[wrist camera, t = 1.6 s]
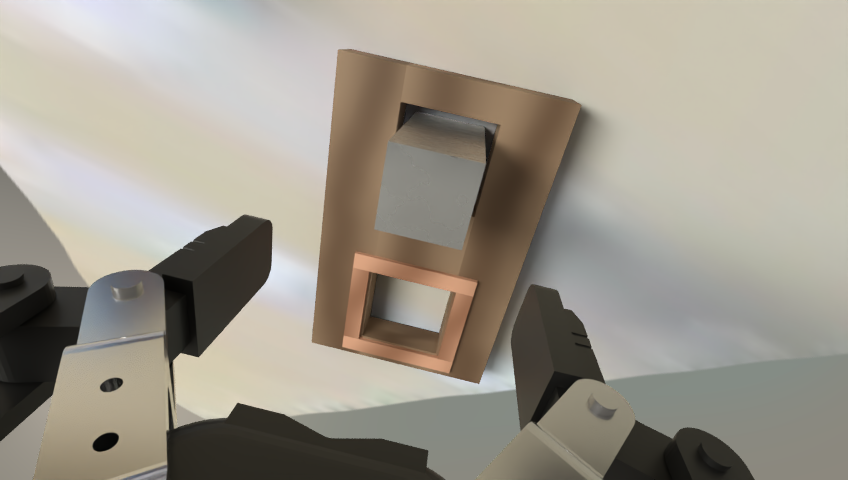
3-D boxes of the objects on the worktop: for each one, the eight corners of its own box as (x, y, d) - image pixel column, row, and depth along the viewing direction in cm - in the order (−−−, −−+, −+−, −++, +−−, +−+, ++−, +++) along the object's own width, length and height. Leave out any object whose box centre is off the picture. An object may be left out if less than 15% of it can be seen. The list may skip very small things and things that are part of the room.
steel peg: (484, 126, 26) (485, 163, 18) (467, 191, 28) (461, 250, 20) (417, 111, 26) (388, 140, 18) (405, 176, 28) (374, 229, 20)
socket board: (572, 99, 24) (582, 105, 22) (479, 361, 34) (478, 386, 32) (351, 49, 25) (336, 49, 22) (322, 323, 35) (310, 344, 32)
